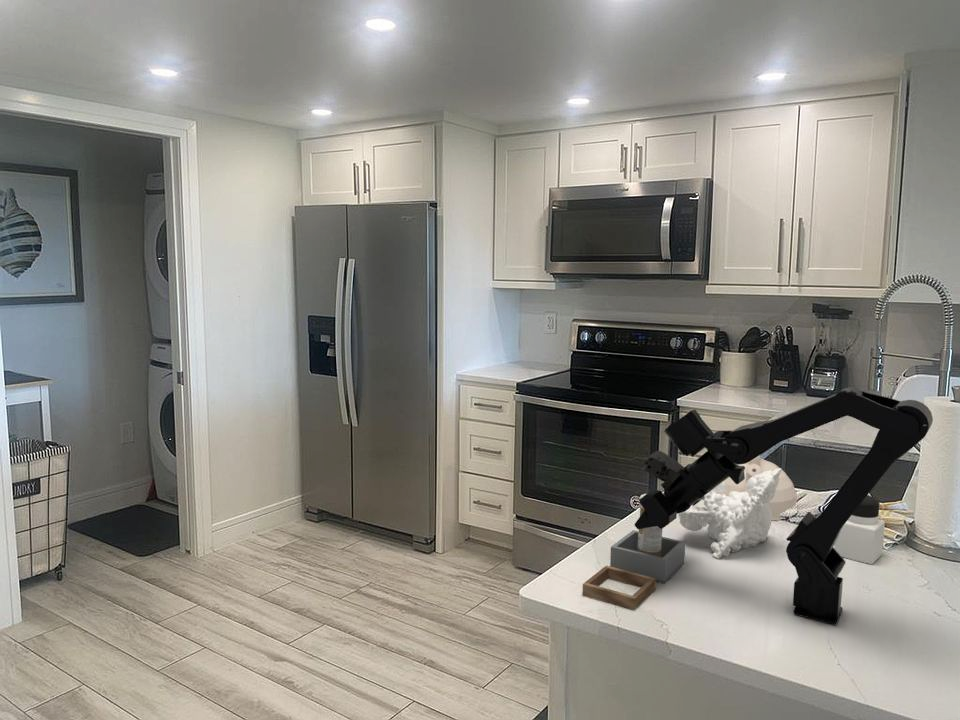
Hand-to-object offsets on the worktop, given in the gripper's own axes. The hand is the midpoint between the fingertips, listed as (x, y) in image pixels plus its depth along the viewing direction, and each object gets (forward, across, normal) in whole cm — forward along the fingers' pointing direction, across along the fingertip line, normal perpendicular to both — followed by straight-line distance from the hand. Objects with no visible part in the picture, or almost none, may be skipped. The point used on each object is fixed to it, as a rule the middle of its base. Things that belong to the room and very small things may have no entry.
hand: (642, 522), depth 137 cm
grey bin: (+5, 0, +7) cm, 9 cm away
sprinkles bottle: (+5, 0, +7) cm, 8 cm away
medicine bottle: (-16, -31, +29) cm, 46 cm away
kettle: (+2, -48, +11) cm, 49 cm away
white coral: (0, -21, +13) cm, 25 cm away
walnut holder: (+5, +13, +7) cm, 16 cm away
